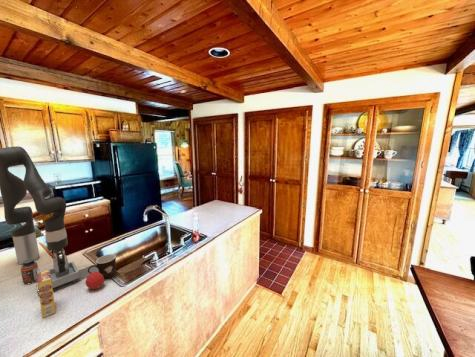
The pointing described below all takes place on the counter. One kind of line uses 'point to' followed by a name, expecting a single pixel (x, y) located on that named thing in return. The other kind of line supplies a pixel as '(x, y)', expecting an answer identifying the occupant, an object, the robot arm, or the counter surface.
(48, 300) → the candy box
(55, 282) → the grey shallow tray
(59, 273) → the steel block
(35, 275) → the supplement bottle
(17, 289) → the counter surface
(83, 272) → the runner mat
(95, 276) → the tomato
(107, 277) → the coffee mug
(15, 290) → the counter surface
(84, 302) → the counter surface
